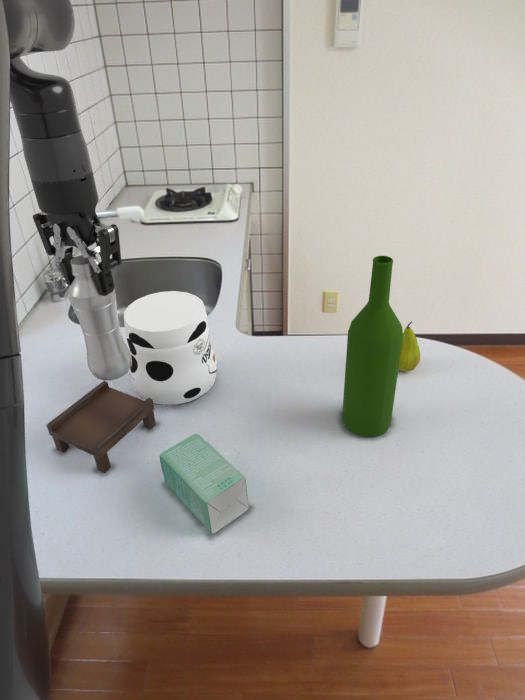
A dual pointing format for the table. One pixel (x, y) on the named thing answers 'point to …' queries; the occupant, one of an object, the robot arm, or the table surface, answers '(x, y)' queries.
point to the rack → (100, 422)
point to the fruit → (409, 351)
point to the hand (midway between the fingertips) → (90, 287)
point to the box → (205, 482)
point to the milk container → (170, 348)
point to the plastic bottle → (98, 323)
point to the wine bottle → (372, 358)
